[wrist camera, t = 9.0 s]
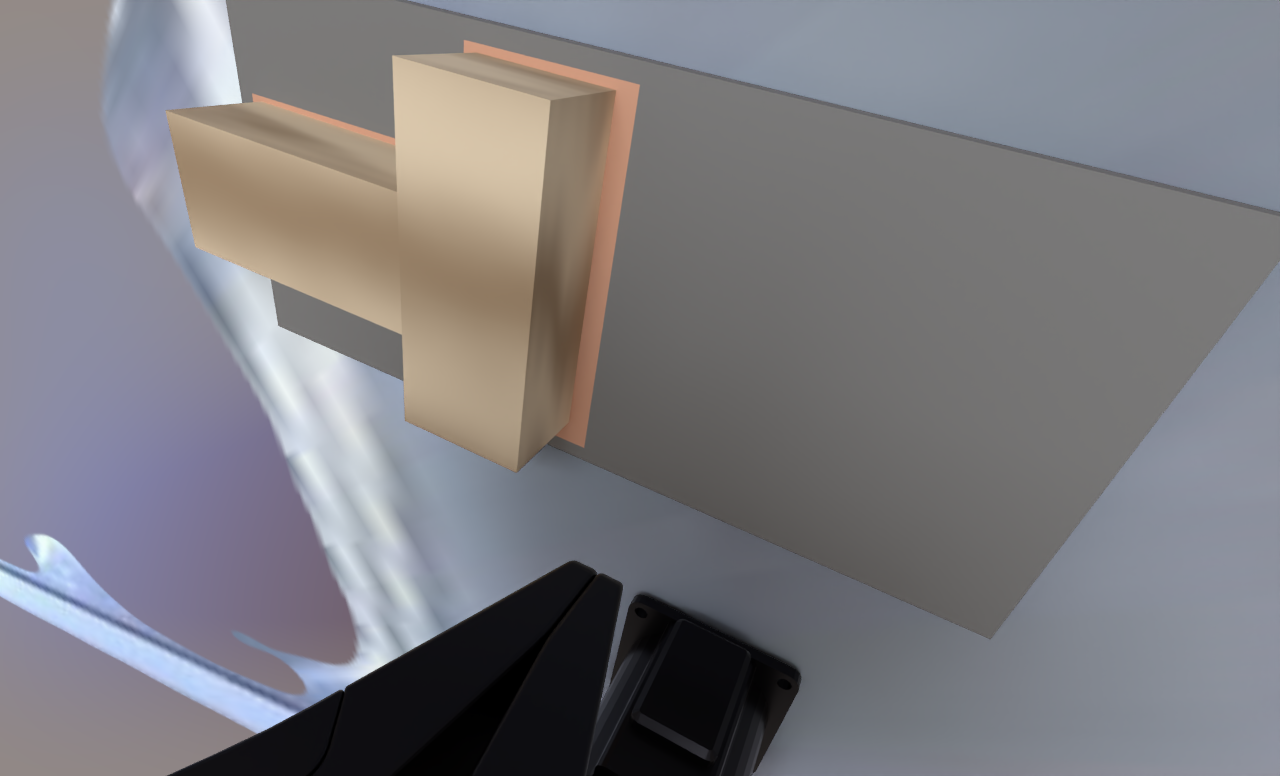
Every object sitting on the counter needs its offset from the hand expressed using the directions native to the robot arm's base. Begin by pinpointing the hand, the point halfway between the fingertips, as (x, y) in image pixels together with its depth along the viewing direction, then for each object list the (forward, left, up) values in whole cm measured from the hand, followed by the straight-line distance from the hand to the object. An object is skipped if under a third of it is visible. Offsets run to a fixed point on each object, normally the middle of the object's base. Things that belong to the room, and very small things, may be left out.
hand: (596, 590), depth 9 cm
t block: (0, +11, -9) cm, 14 cm away
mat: (0, +5, -10) cm, 11 cm away
